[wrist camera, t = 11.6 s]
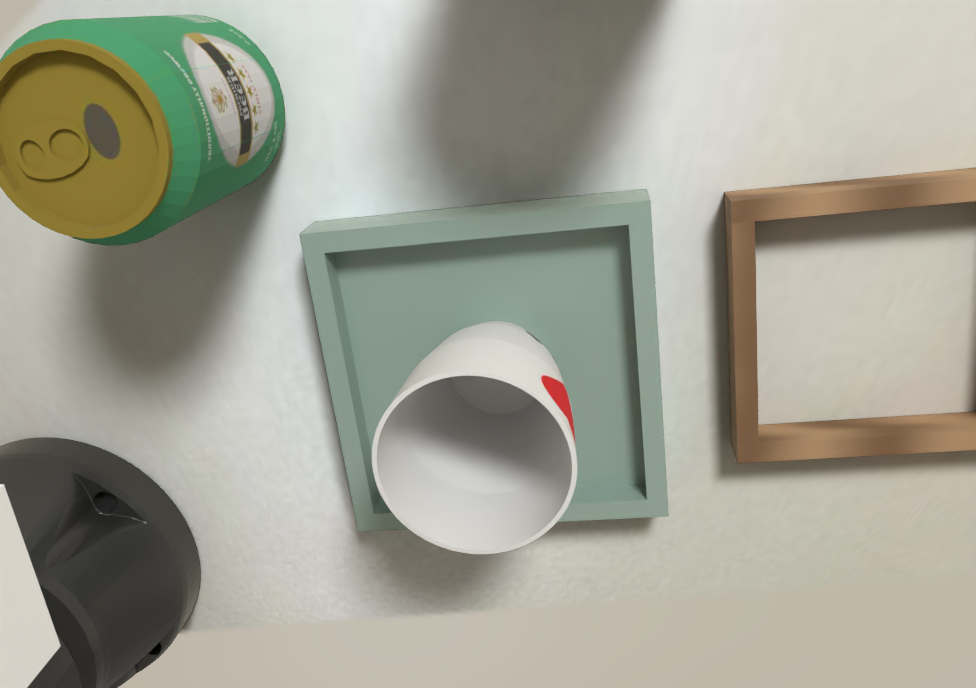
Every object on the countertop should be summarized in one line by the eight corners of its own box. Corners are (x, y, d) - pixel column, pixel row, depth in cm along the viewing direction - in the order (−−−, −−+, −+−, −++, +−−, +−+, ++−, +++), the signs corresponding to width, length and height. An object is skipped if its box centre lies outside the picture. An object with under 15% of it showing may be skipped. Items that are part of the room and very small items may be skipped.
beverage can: (316, 164, 42) (220, 223, 31) (167, 207, 44) (26, 278, 33) (255, -9, 40) (127, -12, 29) (99, 43, 41) (-79, 59, 30)
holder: (731, 444, 45) (737, 463, 44) (724, 192, 41) (731, 201, 39) (1003, 428, 44) (1021, 447, 42) (1027, 162, 39) (1049, 170, 37)
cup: (570, 450, 45) (565, 565, 36) (413, 432, 46) (369, 541, 37) (588, 299, 42) (588, 383, 33) (420, 282, 43) (374, 359, 34)
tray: (369, 506, 49) (358, 531, 47) (314, 221, 43) (299, 234, 41) (664, 490, 47) (668, 516, 45) (646, 188, 41) (650, 200, 39)
